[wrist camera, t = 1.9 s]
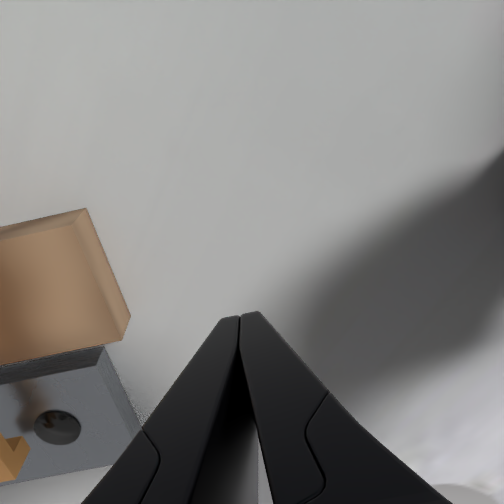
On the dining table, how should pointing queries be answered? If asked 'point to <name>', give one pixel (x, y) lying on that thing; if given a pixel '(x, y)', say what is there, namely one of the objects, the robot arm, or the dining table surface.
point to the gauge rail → (56, 288)
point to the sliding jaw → (12, 456)
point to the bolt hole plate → (66, 413)
